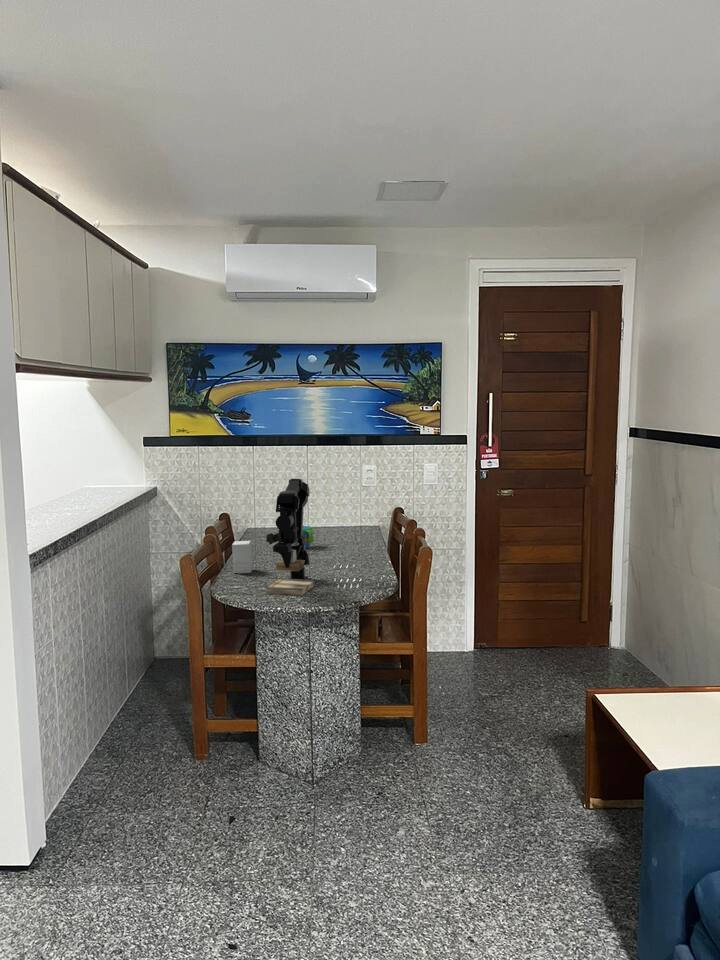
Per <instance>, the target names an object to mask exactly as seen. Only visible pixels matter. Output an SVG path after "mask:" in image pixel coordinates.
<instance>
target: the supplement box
mask: <svg viewBox="0 0 720 960" xmlns="http://www.w3.org/2000/svg"><path fill="white" fill-rule="evenodd" d="M231 550H232V563H233V565H232V567H233V574H234V573H237V574H251V573H252V571H253V555H252V541H251V540H240V541H239V540H235V541H233V543H232V544H231Z"/></svg>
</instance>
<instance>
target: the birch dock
mask: <svg viewBox="0 0 720 960" xmlns="http://www.w3.org/2000/svg"><path fill="white" fill-rule="evenodd" d="M313 587H315V579H305V580H302V579H289V578H279V579H278V580H276V581H275V582H273V583H272V584H270V585H269V586H267V587H266V594H272V595H291V596H303V595H304V594H306V593H307V592H308V591H309V590H311V589H312V588H313ZM310 588H311V589H310Z"/></svg>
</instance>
